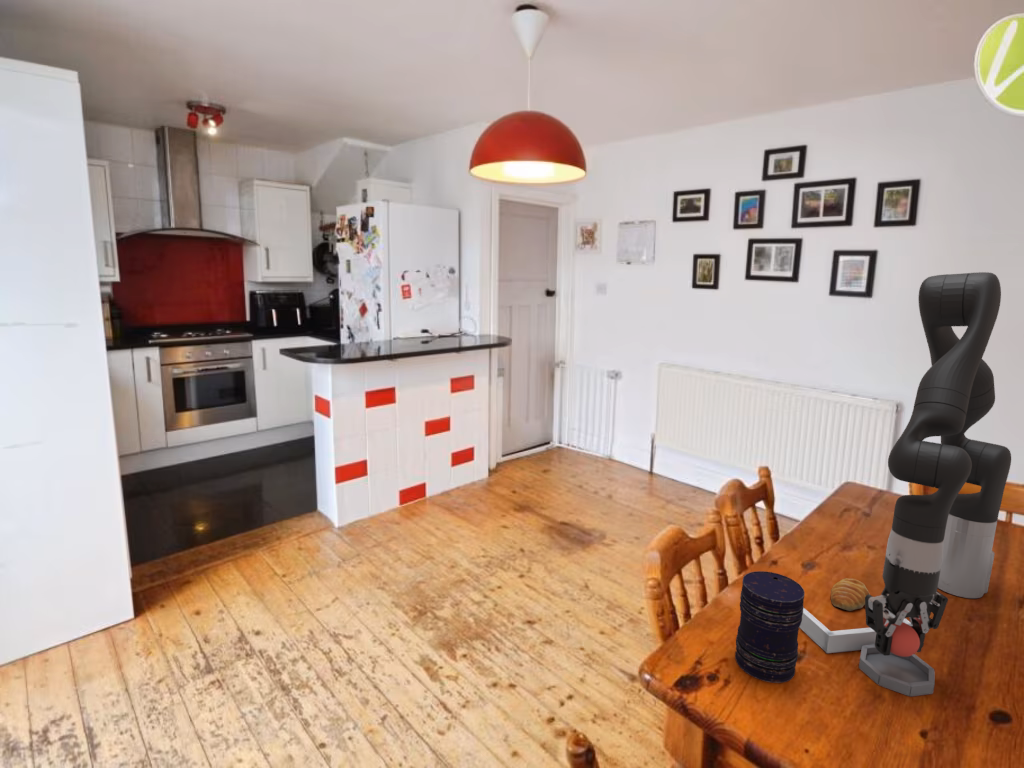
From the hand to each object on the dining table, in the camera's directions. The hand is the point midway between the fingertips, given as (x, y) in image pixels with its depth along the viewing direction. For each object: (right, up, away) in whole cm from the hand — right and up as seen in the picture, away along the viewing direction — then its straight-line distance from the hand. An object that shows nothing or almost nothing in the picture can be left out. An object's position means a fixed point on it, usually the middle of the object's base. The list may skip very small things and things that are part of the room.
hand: (897, 650), depth 97 cm
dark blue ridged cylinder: (-22, -4, +3) cm, 22 cm away
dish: (0, -4, +1) cm, 4 cm away
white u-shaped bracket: (-1, -2, +12) cm, 12 cm away
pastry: (+5, -1, +23) cm, 23 cm away
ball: (0, -1, 0) cm, 0 cm away
